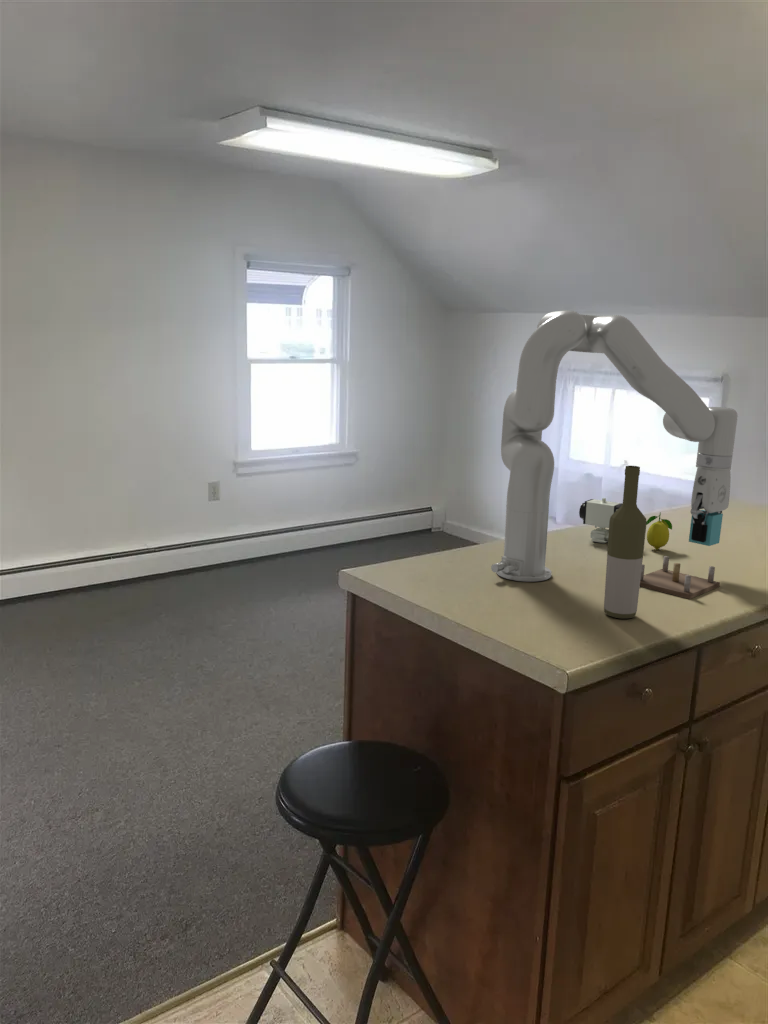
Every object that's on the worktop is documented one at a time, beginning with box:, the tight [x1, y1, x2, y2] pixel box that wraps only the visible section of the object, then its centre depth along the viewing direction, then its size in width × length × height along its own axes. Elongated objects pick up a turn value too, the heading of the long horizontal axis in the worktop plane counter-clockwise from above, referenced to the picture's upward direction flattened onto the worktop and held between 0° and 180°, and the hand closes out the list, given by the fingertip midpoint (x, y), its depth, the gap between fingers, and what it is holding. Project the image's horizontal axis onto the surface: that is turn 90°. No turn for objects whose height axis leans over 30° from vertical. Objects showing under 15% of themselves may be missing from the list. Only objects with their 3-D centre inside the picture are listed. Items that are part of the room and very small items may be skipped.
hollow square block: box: [688, 509, 724, 547], centre depth 195 cm, size 5×5×7 cm
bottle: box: [603, 465, 648, 620], centre depth 164 cm, size 7×7×30 cm
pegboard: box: [640, 555, 721, 600], centre depth 188 cm, size 14×14×5 cm
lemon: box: [646, 512, 673, 550], centre depth 218 cm, size 7×6×10 cm
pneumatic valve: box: [578, 497, 623, 545], centre depth 225 cm, size 6×12×12 cm, turn 53°
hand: (704, 538), depth 195 cm, fingers closed on hollow square block, 5 cm apart
